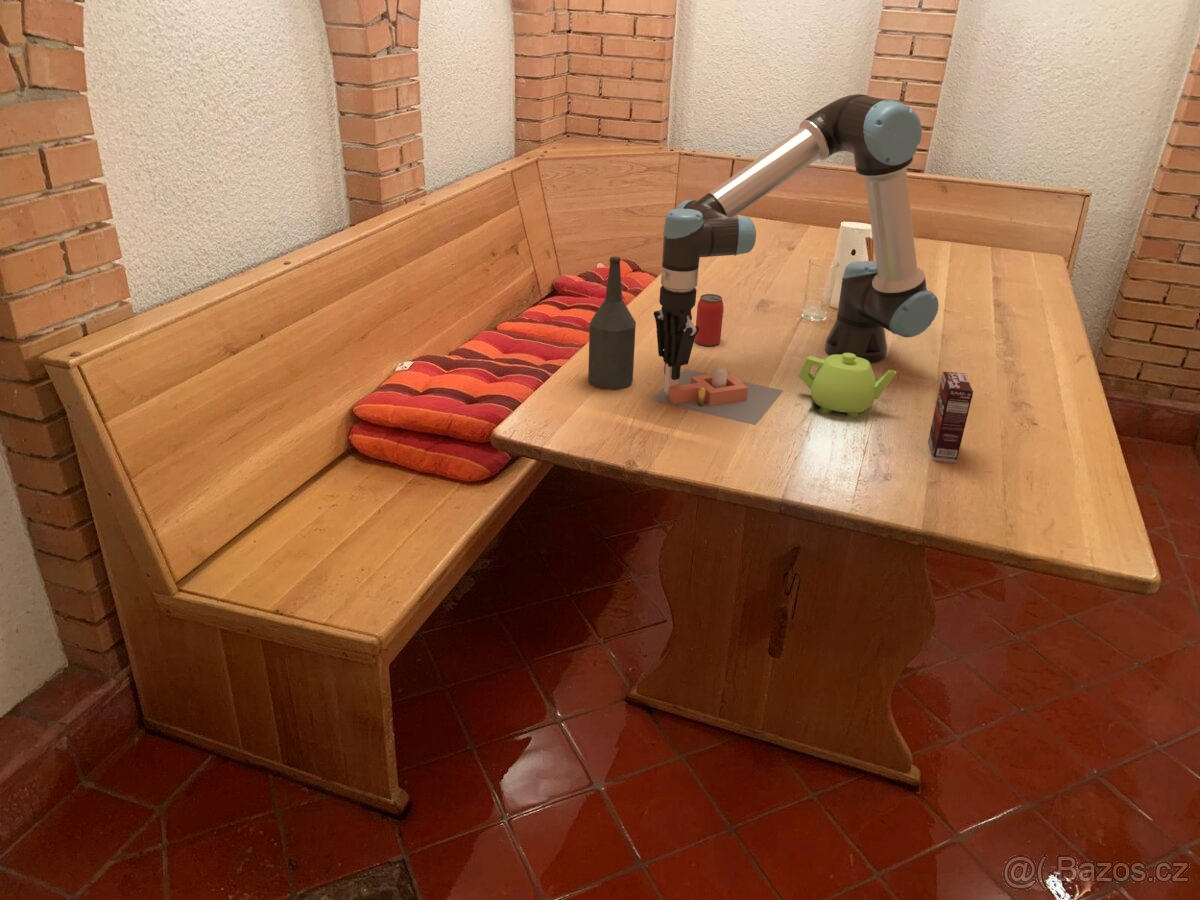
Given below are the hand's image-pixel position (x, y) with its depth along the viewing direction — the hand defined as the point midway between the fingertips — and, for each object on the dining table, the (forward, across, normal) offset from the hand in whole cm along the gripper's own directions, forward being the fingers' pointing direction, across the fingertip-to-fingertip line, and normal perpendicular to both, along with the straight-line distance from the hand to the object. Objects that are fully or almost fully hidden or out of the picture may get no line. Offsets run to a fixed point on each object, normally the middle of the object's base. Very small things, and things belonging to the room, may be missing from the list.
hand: (670, 390), depth 198 cm
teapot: (+3, +20, +32) cm, 38 cm away
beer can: (+3, -25, +31) cm, 40 cm away
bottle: (+3, -14, -6) cm, 16 cm away
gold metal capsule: (+2, +6, +3) cm, 7 cm away
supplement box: (+3, +46, +34) cm, 57 cm away
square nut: (+1, +3, +7) cm, 8 cm away
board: (+3, +4, +10) cm, 11 cm away
